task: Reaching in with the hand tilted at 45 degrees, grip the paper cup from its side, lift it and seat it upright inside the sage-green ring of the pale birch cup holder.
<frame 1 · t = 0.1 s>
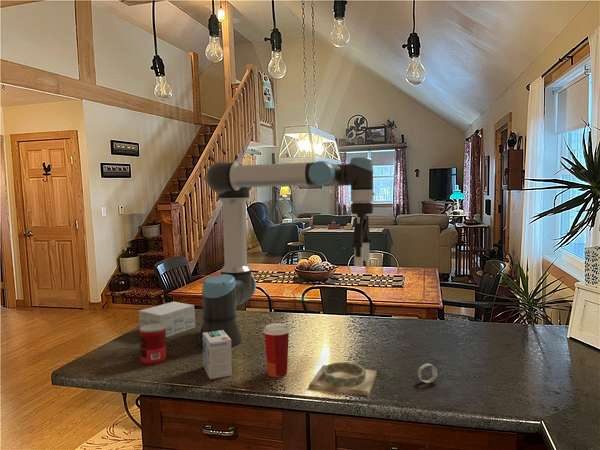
hand: (362, 263, 154), 28 cm above the counter, tool pointing down, fingers open, 13 cm apart
supplement box: (167, 331, 174), on the counter
paper cup: (277, 374, 129), on the counter
canned food: (153, 361, 141), on the counter
cup holder: (344, 381, 123), on the counter
light bulb box: (217, 371, 132), on the counter
wristwatch: (427, 382, 122), on the counter
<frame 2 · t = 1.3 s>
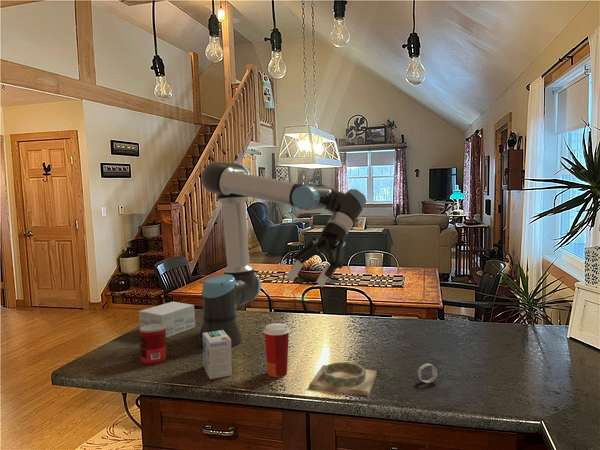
hand: (303, 281, 135), 26 cm above the counter, tool tilted 45°, fingers open, 13 cm apart
nothing on the counter moved.
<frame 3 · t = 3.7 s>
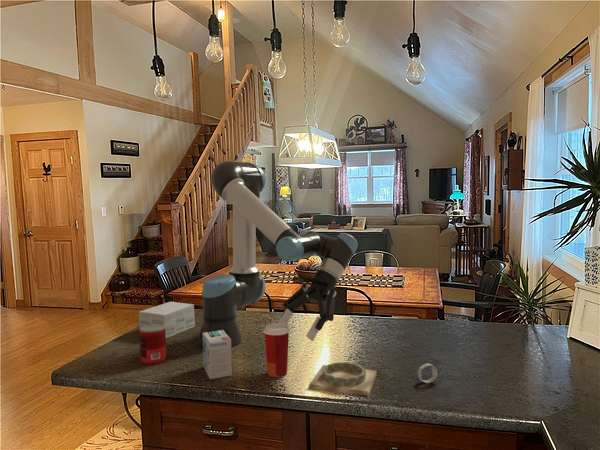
hand: (293, 333, 131), 11 cm above the counter, tool tilted 45°, fingers open, 13 cm apart
nothing on the counter moved.
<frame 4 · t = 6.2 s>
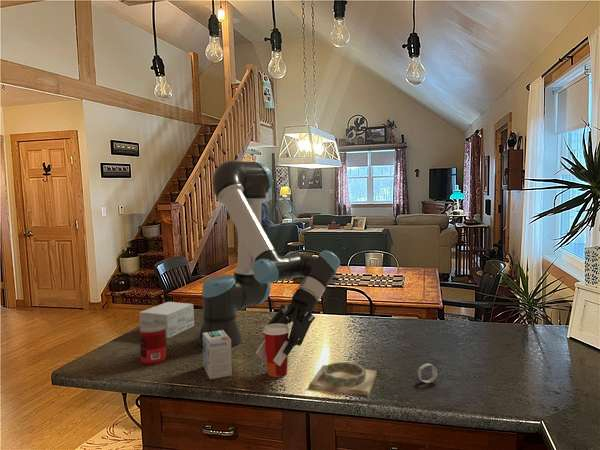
hand: (267, 359, 127), 5 cm above the counter, tool tilted 45°, fingers closed on paper cup, 8 cm apart
paper cup: (277, 374, 129), on the counter, touching gripper
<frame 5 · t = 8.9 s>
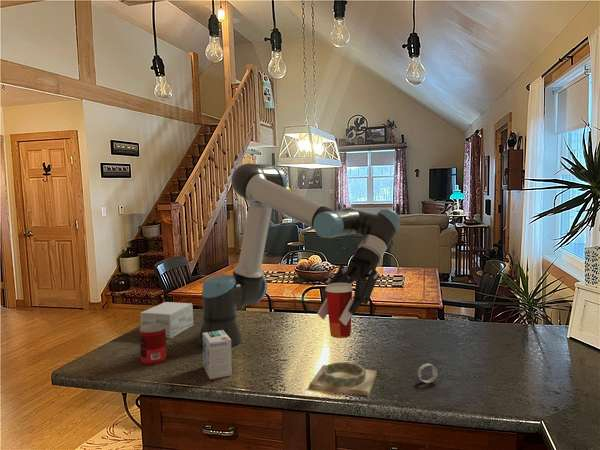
hand: (331, 319, 120), 18 cm above the counter, tool tilted 45°, fingers closed on paper cup, 8 cm apart
paper cup: (340, 335, 122), point 13 cm above the counter, touching gripper
when the fingers open (8 cm above the counter, at t = 11.8 s): paper cup drops 1 cm, resting on cup holder.
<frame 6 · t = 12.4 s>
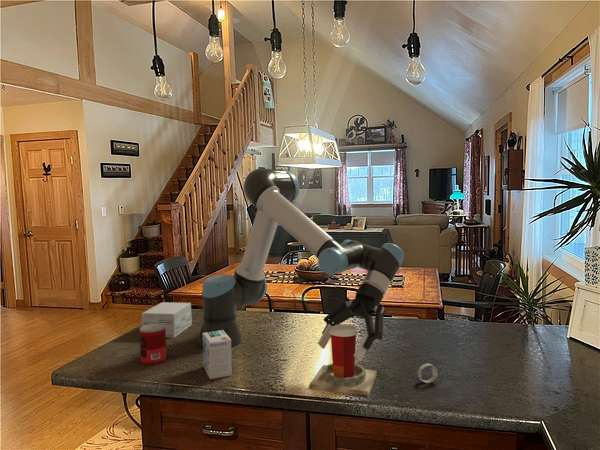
hand: (338, 352, 121), 9 cm above the counter, tool tilted 45°, fingers open, 13 cm apart
paper cup: (343, 377, 123), point 1 cm above the counter, touching cup holder
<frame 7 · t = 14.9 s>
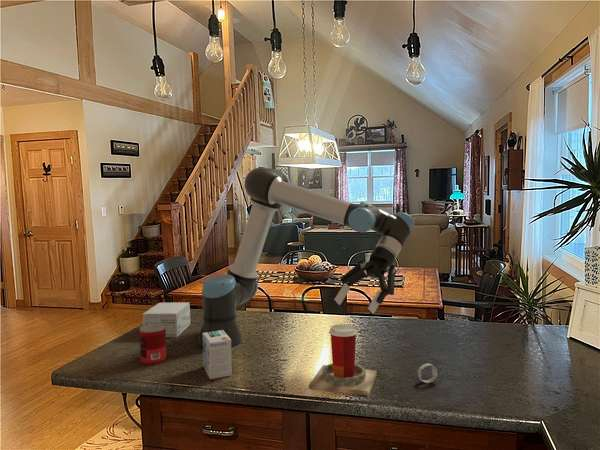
hand: (353, 306, 134), 18 cm above the counter, tool tilted 45°, fingers open, 13 cm apart
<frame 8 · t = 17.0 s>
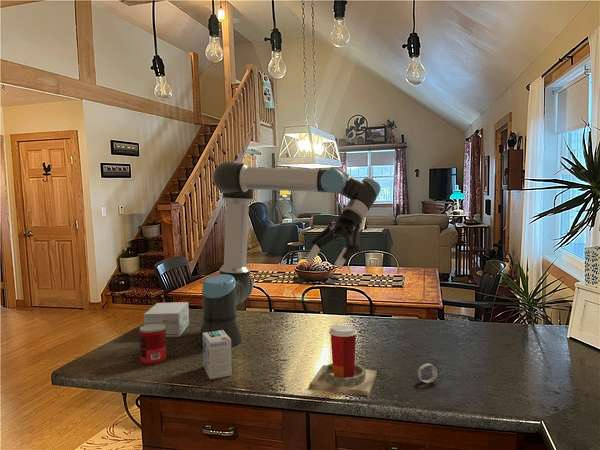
hand: (322, 264, 142), 30 cm above the counter, tool tilted 45°, fingers open, 13 cm apart
at the end: paper cup 0.2 cm off-centre on the cup holder, point 1.0 cm above the cup holder's base; paper cup tilted 0°; the gripper is holding nothing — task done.
